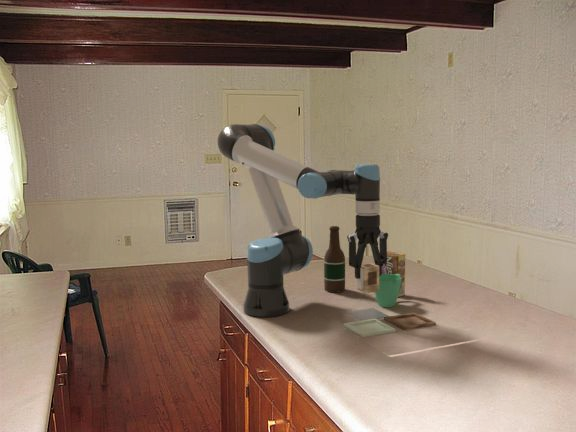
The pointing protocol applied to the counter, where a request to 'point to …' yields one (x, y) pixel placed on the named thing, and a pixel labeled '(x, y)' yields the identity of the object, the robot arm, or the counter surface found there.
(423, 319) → the tray walnut
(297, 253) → the robot arm
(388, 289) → the mug
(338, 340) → the counter surface
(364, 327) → the tray sage
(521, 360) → the counter surface
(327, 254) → the beer bottle
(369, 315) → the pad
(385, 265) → the candy box
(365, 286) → the letter block
